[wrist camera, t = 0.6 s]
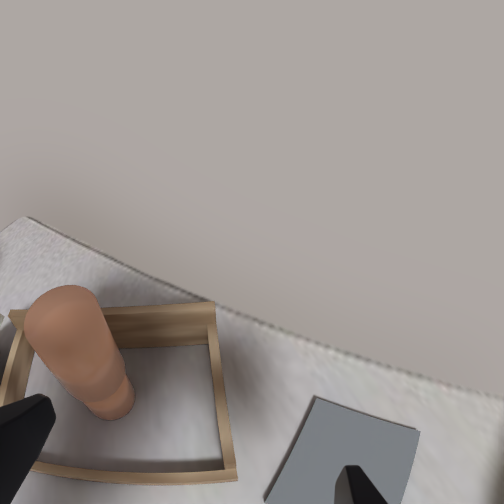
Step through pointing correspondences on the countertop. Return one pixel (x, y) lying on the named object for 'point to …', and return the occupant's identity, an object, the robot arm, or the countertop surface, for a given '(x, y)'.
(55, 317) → the peach domed cylinder
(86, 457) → the countertop surface
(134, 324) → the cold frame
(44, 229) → the countertop surface
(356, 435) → the slate tile
